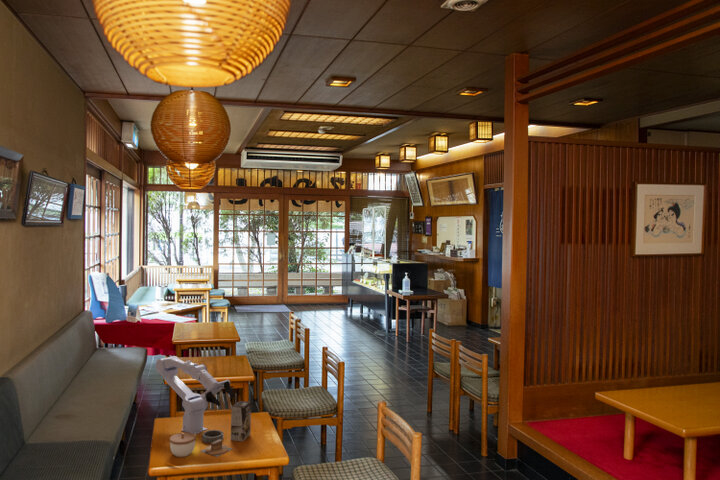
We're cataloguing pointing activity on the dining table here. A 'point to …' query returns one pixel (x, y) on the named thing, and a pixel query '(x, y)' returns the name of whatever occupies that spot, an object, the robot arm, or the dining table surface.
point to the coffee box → (240, 420)
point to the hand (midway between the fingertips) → (226, 400)
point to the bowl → (212, 436)
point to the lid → (216, 448)
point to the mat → (216, 455)
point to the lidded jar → (182, 444)
